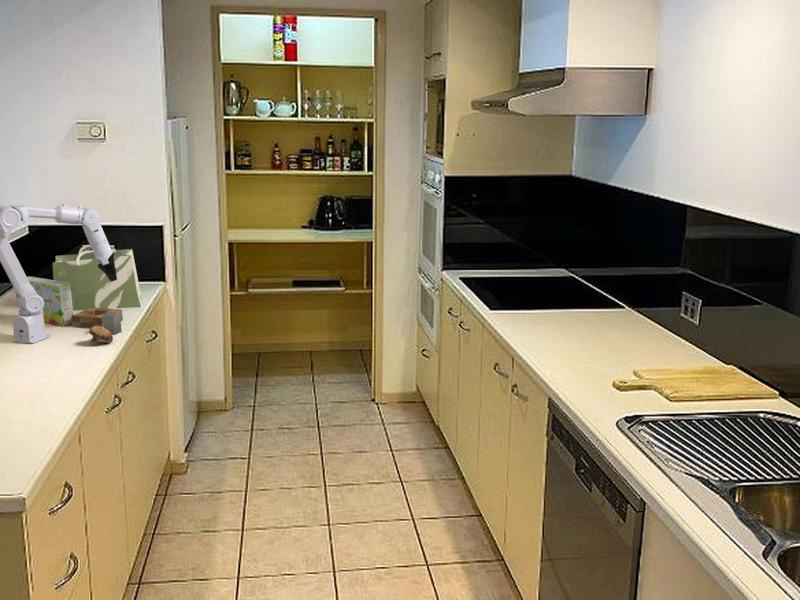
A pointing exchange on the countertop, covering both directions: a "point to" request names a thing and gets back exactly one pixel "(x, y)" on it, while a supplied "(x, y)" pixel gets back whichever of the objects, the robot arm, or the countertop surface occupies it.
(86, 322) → the socket block
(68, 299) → the snack box
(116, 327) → the square bit
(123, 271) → the grocery bag
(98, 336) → the mushroom
